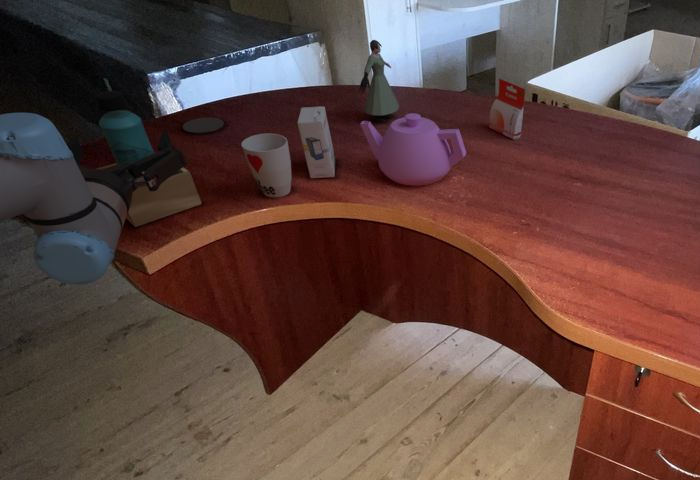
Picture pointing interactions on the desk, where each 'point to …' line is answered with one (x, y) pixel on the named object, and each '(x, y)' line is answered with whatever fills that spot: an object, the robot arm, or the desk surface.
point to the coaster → (203, 125)
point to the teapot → (414, 150)
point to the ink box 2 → (508, 109)
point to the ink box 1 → (316, 142)
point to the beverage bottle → (122, 129)
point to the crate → (162, 198)
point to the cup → (269, 163)
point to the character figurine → (378, 86)
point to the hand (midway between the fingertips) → (123, 142)
